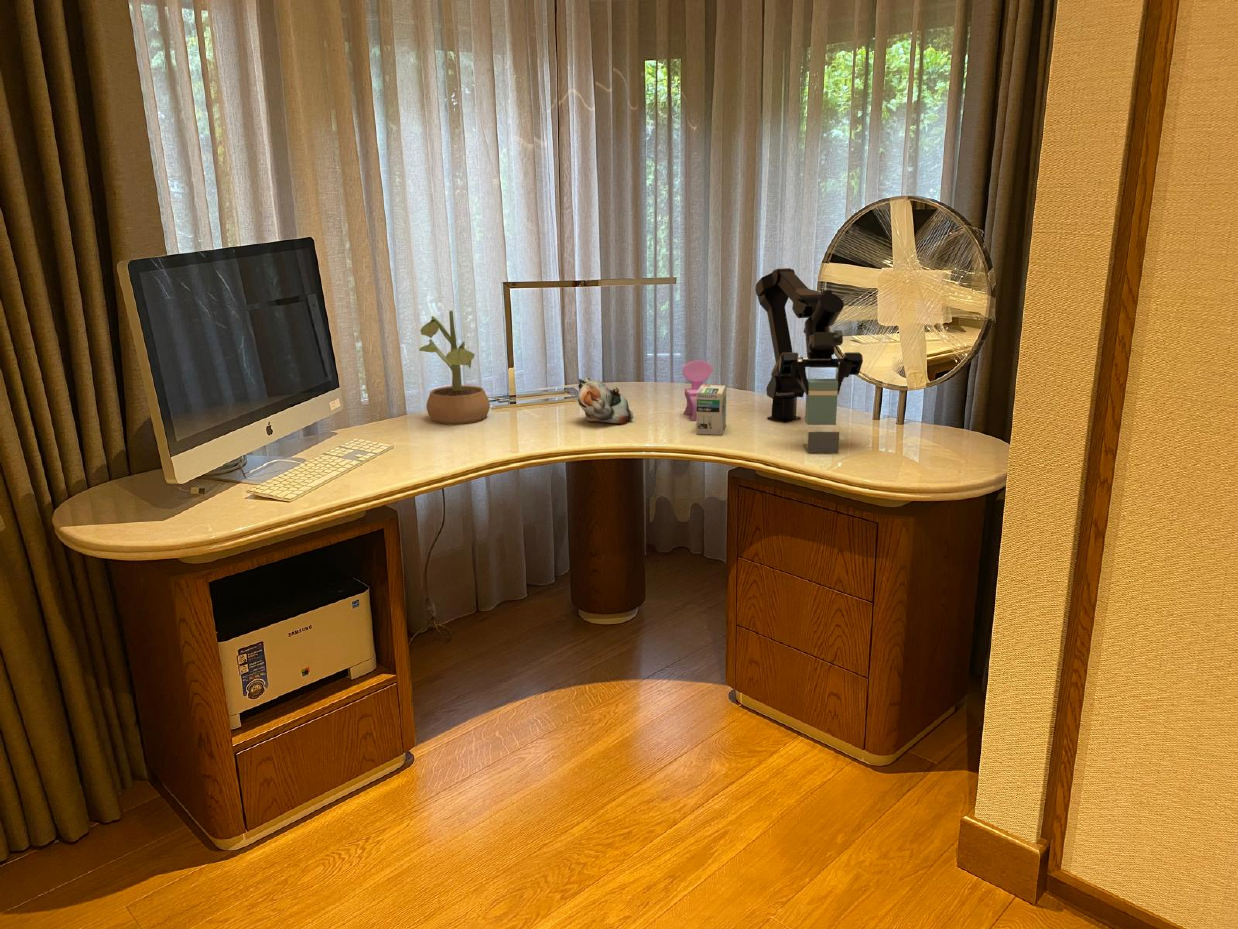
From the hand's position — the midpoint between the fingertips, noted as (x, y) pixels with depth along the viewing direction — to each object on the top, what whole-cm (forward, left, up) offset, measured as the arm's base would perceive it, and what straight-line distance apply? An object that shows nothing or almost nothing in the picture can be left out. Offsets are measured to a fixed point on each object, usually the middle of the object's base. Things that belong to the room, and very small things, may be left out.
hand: (822, 394), depth 212 cm
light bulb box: (+4, -31, -14) cm, 34 cm away
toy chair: (-4, -43, -14) cm, 45 cm away
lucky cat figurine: (+17, -57, -14) cm, 61 cm away
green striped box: (-1, -1, -7) cm, 7 cm away
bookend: (-1, -1, -13) cm, 13 cm away
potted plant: (+45, -86, -14) cm, 98 cm away
